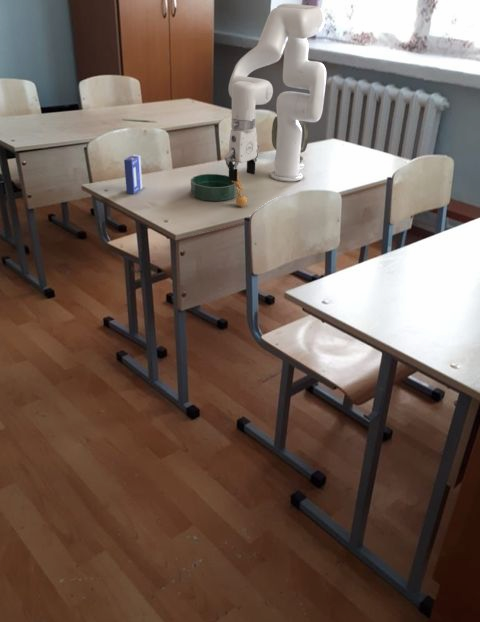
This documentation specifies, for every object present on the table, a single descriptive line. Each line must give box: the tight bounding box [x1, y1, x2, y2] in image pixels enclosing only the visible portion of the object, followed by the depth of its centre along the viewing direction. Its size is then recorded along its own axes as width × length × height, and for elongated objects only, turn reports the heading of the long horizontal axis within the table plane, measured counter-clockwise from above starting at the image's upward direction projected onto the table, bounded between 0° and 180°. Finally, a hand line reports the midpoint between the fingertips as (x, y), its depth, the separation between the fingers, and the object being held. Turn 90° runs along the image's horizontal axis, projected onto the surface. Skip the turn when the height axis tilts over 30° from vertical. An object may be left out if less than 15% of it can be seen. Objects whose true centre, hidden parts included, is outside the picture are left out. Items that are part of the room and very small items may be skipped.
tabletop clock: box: [271, 115, 310, 161], centre depth 253 cm, size 14×9×25 cm, turn 102°
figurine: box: [232, 171, 248, 208], centre depth 201 cm, size 8×6×12 cm
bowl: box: [190, 173, 238, 202], centre depth 212 cm, size 16×16×5 cm
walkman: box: [123, 154, 143, 195], centre depth 209 cm, size 8×3×12 cm, turn 167°
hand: (242, 176), depth 200 cm, fingers open, 9 cm apart
